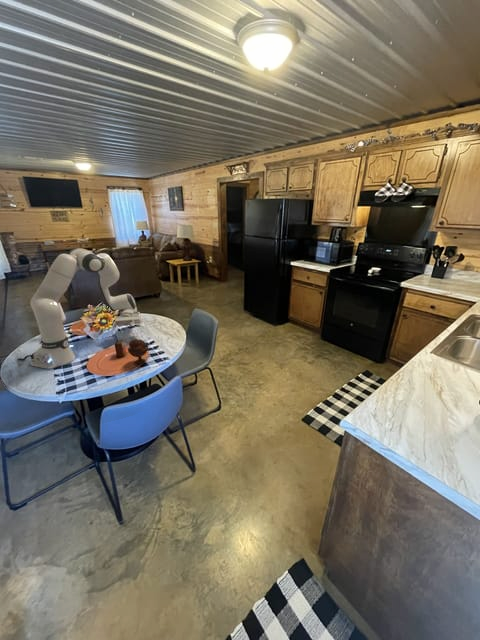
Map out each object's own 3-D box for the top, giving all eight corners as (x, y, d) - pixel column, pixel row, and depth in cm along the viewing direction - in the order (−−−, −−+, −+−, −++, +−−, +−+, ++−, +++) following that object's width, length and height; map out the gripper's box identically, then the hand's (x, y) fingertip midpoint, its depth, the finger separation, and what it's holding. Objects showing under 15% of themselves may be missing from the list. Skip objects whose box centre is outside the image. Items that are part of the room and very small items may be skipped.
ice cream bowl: (144, 368, 145) (140, 344, 139) (126, 365, 147) (121, 342, 141) (154, 358, 155) (150, 335, 149) (136, 356, 157) (132, 333, 151)
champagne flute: (57, 337, 181) (47, 304, 171) (67, 333, 186) (58, 301, 177) (62, 339, 178) (52, 305, 168) (72, 335, 183) (63, 302, 174)
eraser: (117, 357, 156) (114, 344, 152) (119, 352, 161) (116, 339, 157) (124, 356, 156) (121, 343, 153) (126, 352, 161) (123, 339, 158)
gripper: (110, 313, 174) (103, 322, 161) (142, 311, 177) (138, 319, 164) (111, 322, 176) (105, 331, 164) (143, 320, 179) (140, 328, 167)
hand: (122, 325), depth 164 cm, fingers open, 8 cm apart
